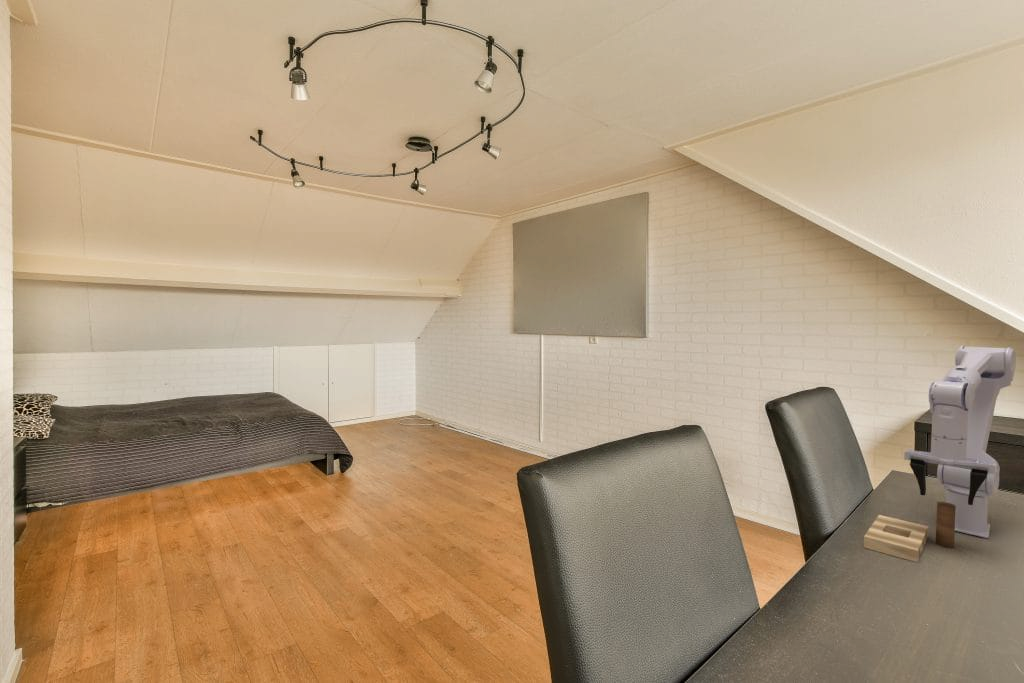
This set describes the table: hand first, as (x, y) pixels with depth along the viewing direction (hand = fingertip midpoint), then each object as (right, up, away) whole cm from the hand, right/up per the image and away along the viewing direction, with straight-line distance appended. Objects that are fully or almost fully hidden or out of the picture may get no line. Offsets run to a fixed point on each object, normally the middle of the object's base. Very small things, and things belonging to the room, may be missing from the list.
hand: (946, 498), depth 105 cm
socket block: (-9, -10, +2) cm, 14 cm away
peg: (+1, -10, +1) cm, 10 cm away
